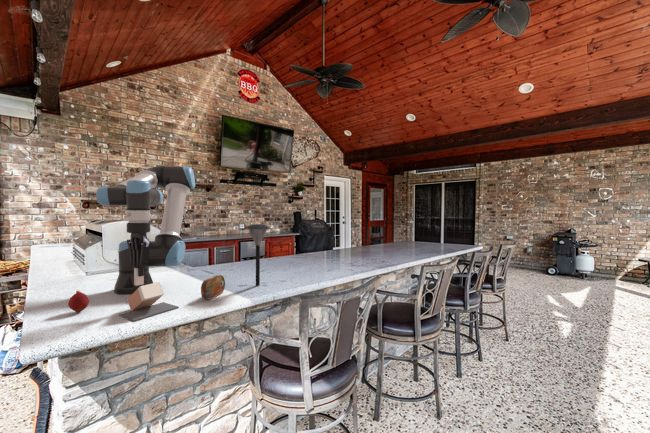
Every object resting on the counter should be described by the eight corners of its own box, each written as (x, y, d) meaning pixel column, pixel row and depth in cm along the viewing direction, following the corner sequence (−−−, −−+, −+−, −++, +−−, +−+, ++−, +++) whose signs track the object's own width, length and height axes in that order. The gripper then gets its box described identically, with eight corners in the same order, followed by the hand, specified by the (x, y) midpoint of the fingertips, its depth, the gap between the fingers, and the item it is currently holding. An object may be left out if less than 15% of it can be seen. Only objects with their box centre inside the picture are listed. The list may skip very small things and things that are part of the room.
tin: (206, 302, 122) (206, 281, 122) (199, 301, 122) (199, 281, 122) (225, 291, 137) (225, 273, 136) (219, 291, 137) (219, 272, 137)
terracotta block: (127, 299, 111) (140, 286, 106) (146, 294, 117) (159, 281, 112) (131, 311, 110) (144, 299, 105) (150, 306, 116) (164, 294, 111)
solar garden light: (259, 290, 139) (259, 225, 138) (239, 286, 145) (239, 224, 144) (275, 284, 150) (275, 224, 149) (256, 281, 156) (256, 223, 154)
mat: (119, 315, 106) (119, 314, 106) (163, 303, 119) (163, 302, 119) (134, 321, 100) (134, 320, 100) (178, 308, 114) (178, 306, 114)
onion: (89, 308, 112) (88, 287, 112) (89, 313, 108) (89, 291, 108) (68, 311, 109) (68, 290, 108) (68, 316, 104) (67, 293, 104)
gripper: (118, 221, 112) (119, 284, 113) (137, 222, 106) (137, 289, 106) (139, 221, 119) (140, 280, 119) (158, 222, 112) (158, 284, 113)
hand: (139, 284), depth 113 cm, fingers closed
